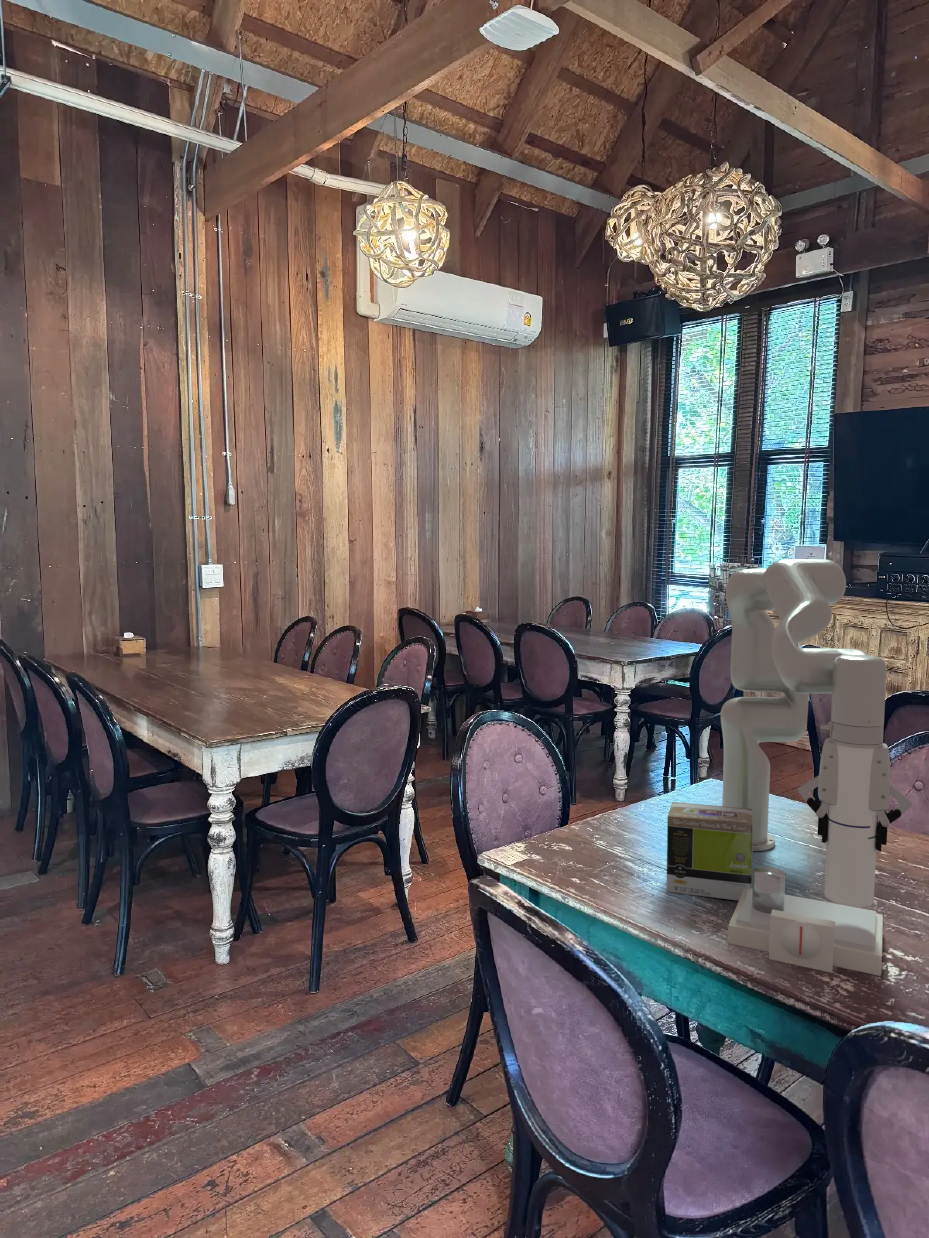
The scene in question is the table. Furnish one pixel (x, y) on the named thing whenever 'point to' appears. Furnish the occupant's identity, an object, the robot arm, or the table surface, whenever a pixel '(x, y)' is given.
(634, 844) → the table surface
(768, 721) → the robot arm
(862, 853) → the cylindrical container
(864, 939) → the scale
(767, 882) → the shiny metallic cylinder
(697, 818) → the tea box
